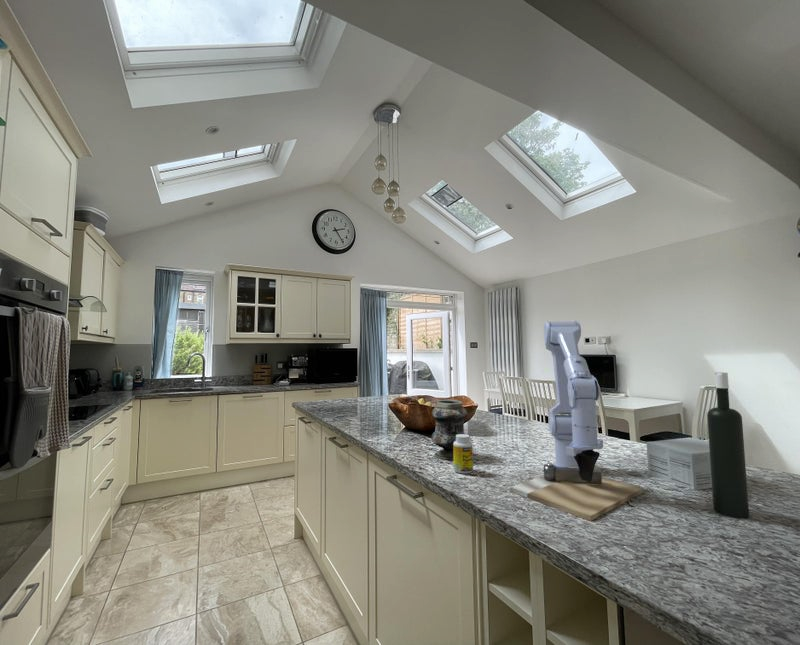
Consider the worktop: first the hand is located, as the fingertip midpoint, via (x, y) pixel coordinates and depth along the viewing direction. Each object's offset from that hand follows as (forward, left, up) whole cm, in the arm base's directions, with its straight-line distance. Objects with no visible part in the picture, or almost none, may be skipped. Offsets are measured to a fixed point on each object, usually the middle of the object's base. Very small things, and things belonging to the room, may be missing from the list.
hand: (586, 480), depth 93 cm
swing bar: (0, -4, -1) cm, 4 cm away
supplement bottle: (+14, -29, -3) cm, 32 cm away
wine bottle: (-12, +25, -3) cm, 28 cm away
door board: (+3, -1, -2) cm, 4 cm away
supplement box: (-31, +13, -3) cm, 34 cm away
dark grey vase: (+6, -43, -3) cm, 43 cm away
